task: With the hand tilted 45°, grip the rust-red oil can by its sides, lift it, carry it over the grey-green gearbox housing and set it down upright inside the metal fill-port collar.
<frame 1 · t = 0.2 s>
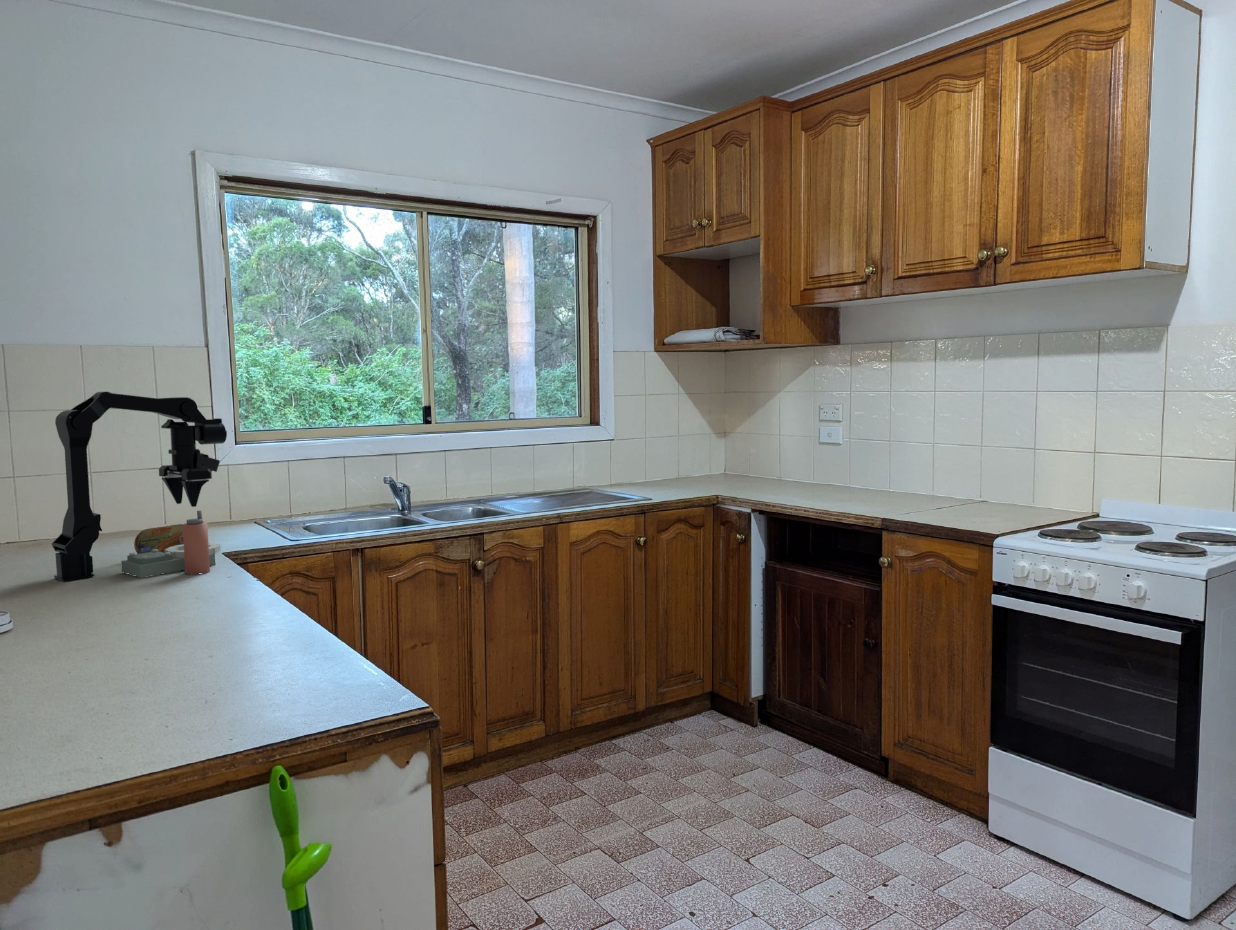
hand: (186, 505, 223), 14 cm above the counter, tool pointing down, fingers open, 9 cm apart
tin: (165, 557, 228), on the counter
oil can: (197, 572, 208), on the counter
gearbox: (169, 568, 212), on the counter
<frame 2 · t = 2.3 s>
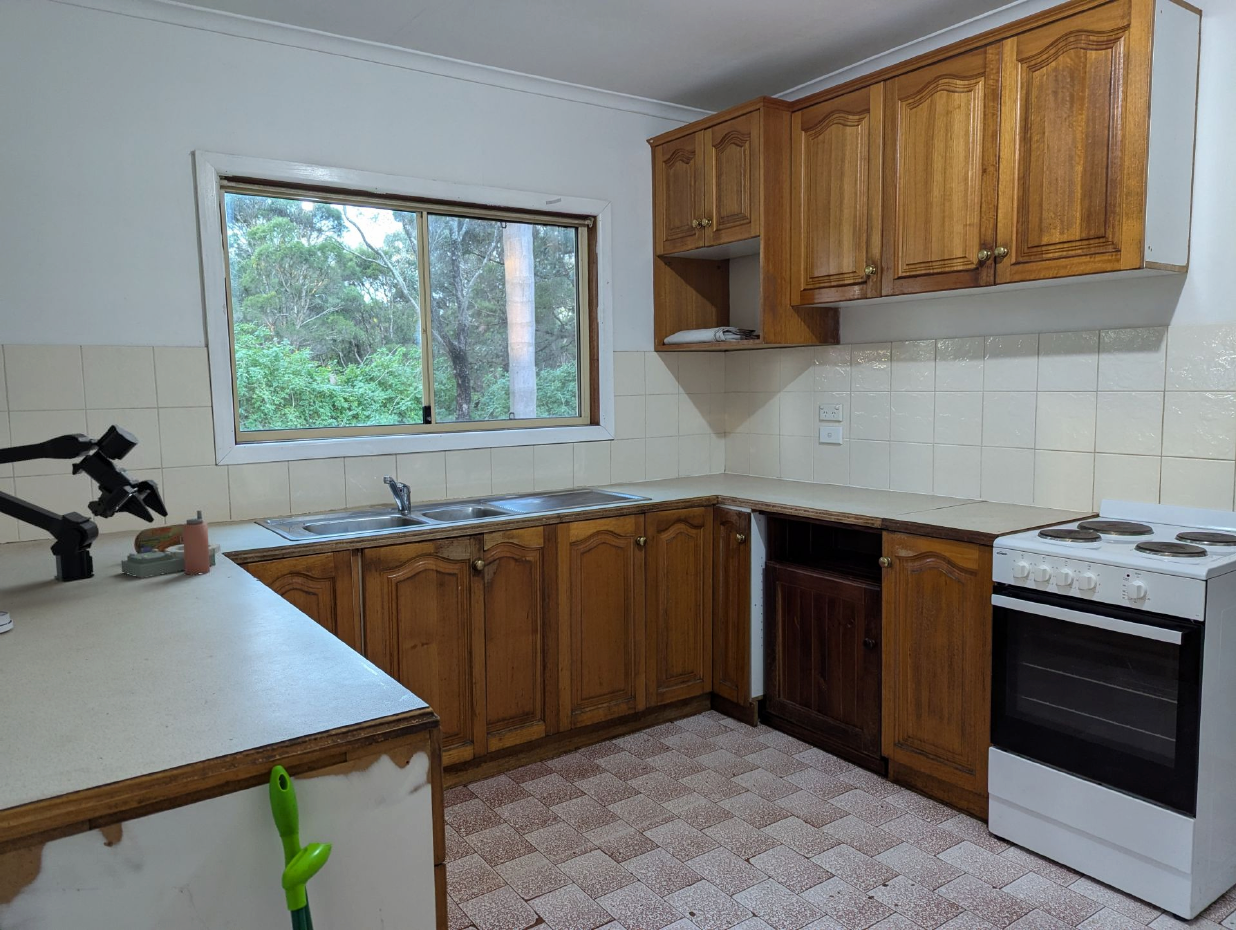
hand: (159, 518, 205), 13 cm above the counter, tool tilted 45°, fingers open, 9 cm apart
nothing on the counter moved.
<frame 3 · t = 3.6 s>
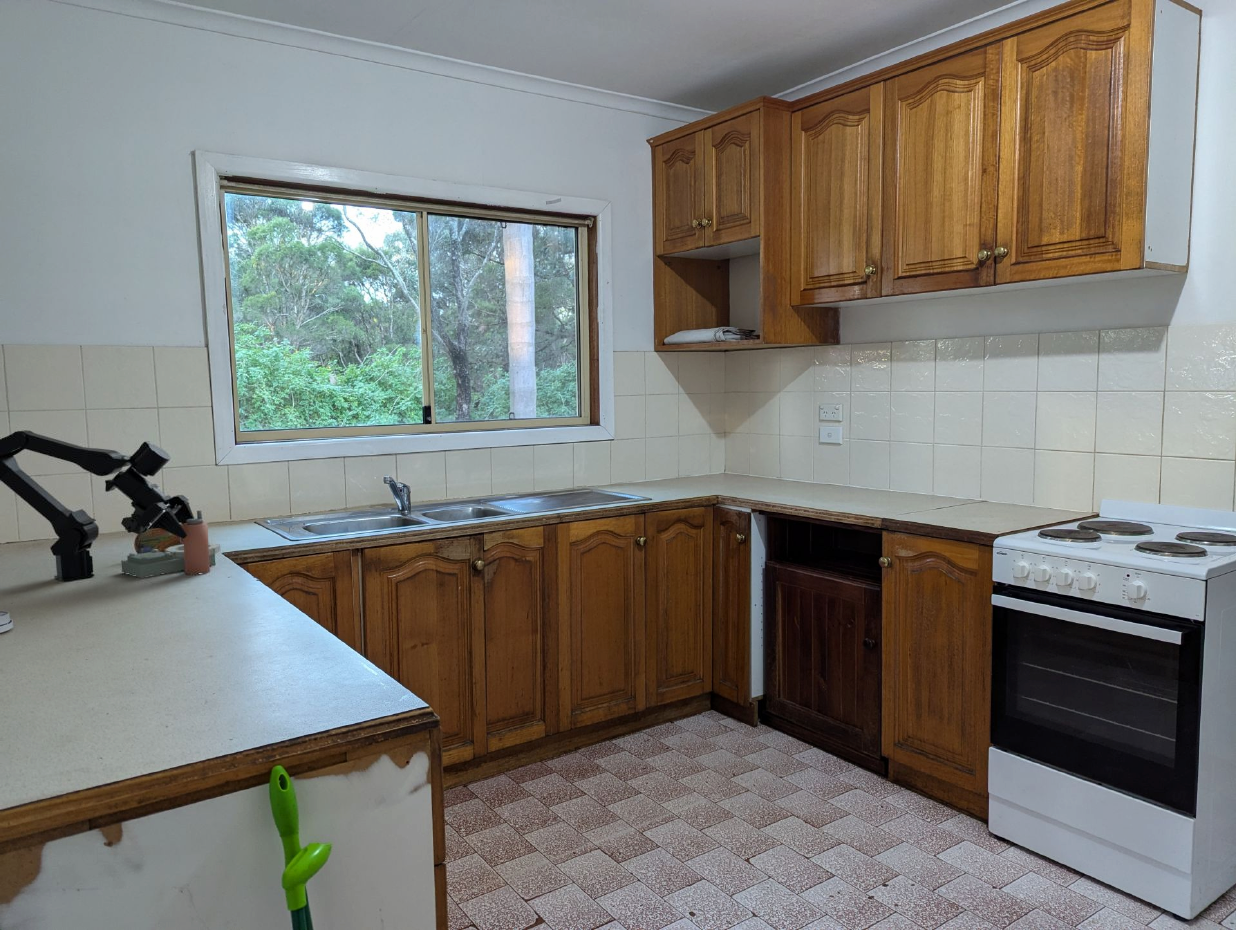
hand: (191, 534, 207), 9 cm above the counter, tool tilted 45°, fingers open, 9 cm apart
nothing on the counter moved.
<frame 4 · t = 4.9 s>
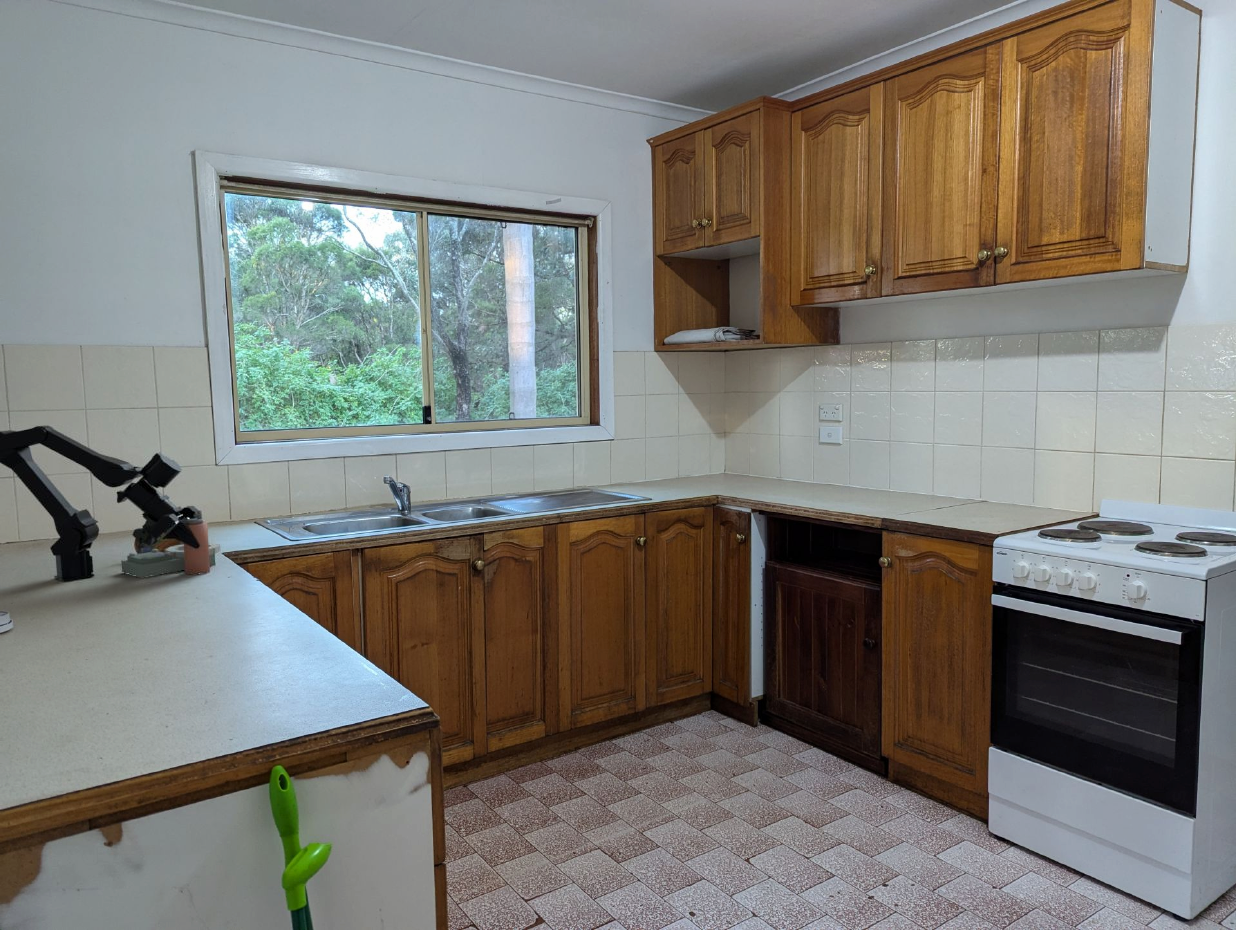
hand: (202, 545, 207), 7 cm above the counter, tool tilted 45°, fingers closed on oil can, 5 cm apart
oil can: (197, 572, 208), on the counter, touching gripper
everything else where it was.
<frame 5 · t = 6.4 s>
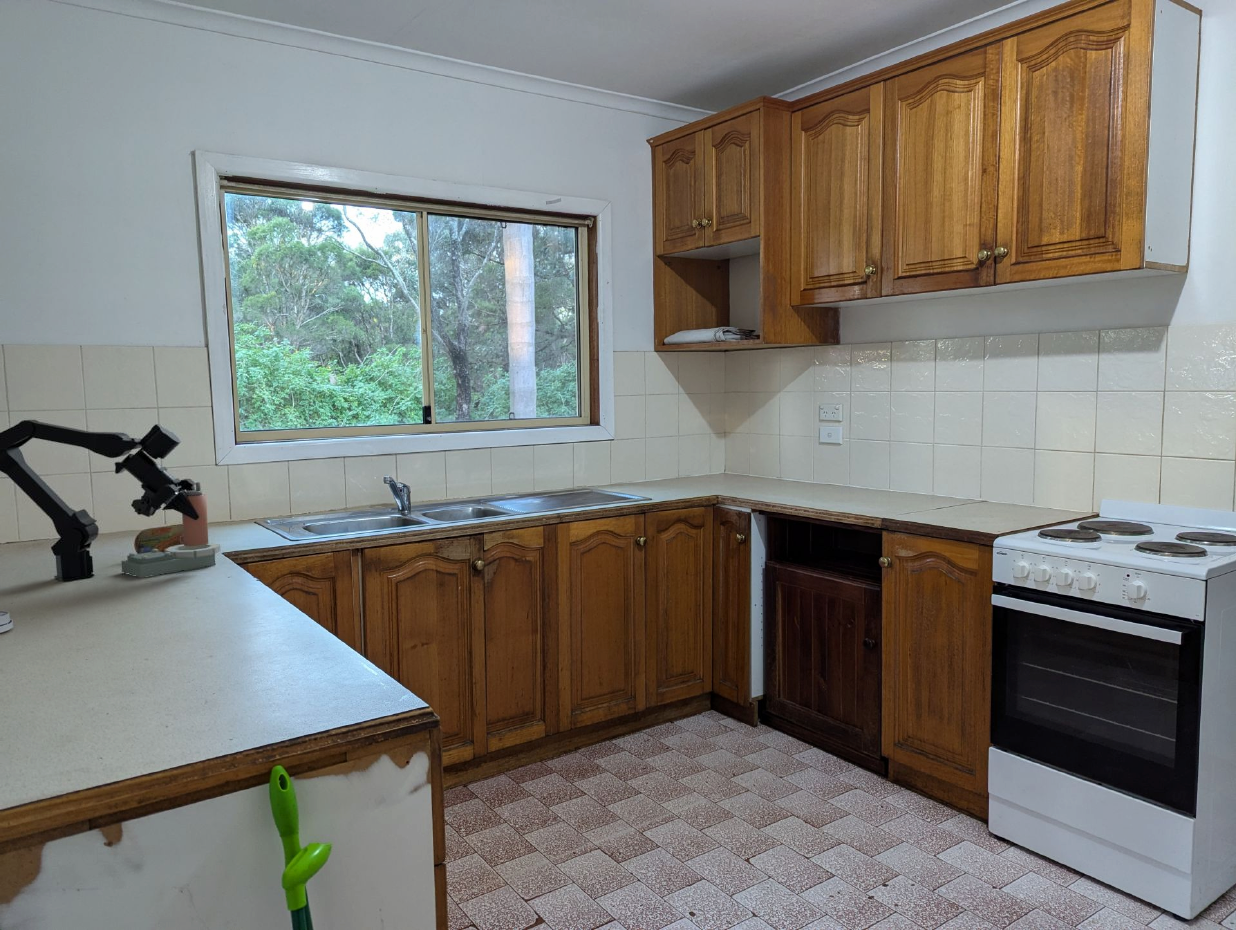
hand: (201, 517, 208), 13 cm above the counter, tool tilted 45°, fingers closed on oil can, 5 cm apart
oil can: (196, 544, 208), point 7 cm above the counter, touching gripper
everything else where it was.
when the fingers open (11 cm above the counter, at t = 8.1 s): oil can stays where it is, resting on gearbox.
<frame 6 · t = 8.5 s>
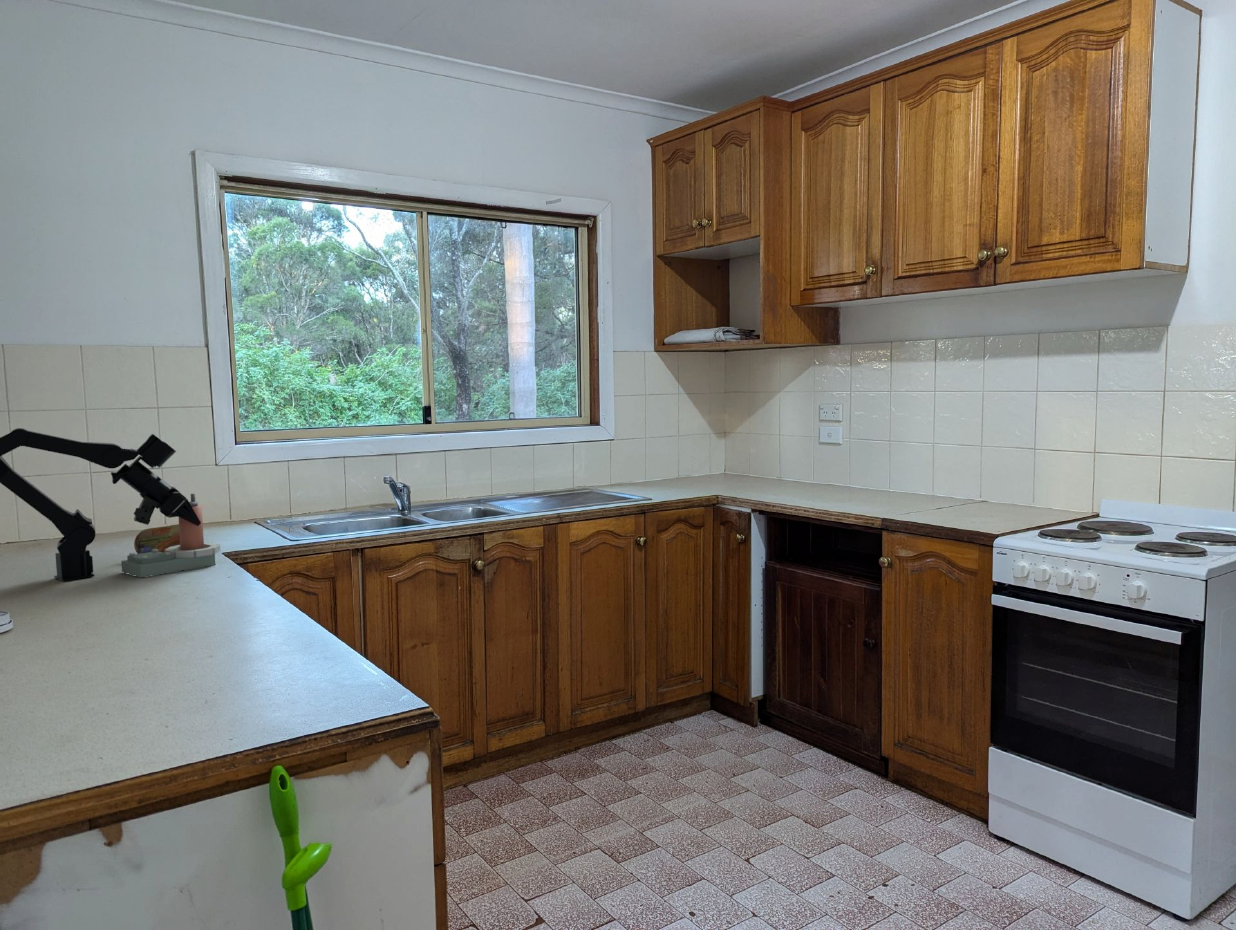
hand: (197, 522, 217), 11 cm above the counter, tool tilted 45°, fingers open, 9 cm apart
oil can: (192, 553, 216), point 3 cm above the counter, touching gearbox
everything else where it was.
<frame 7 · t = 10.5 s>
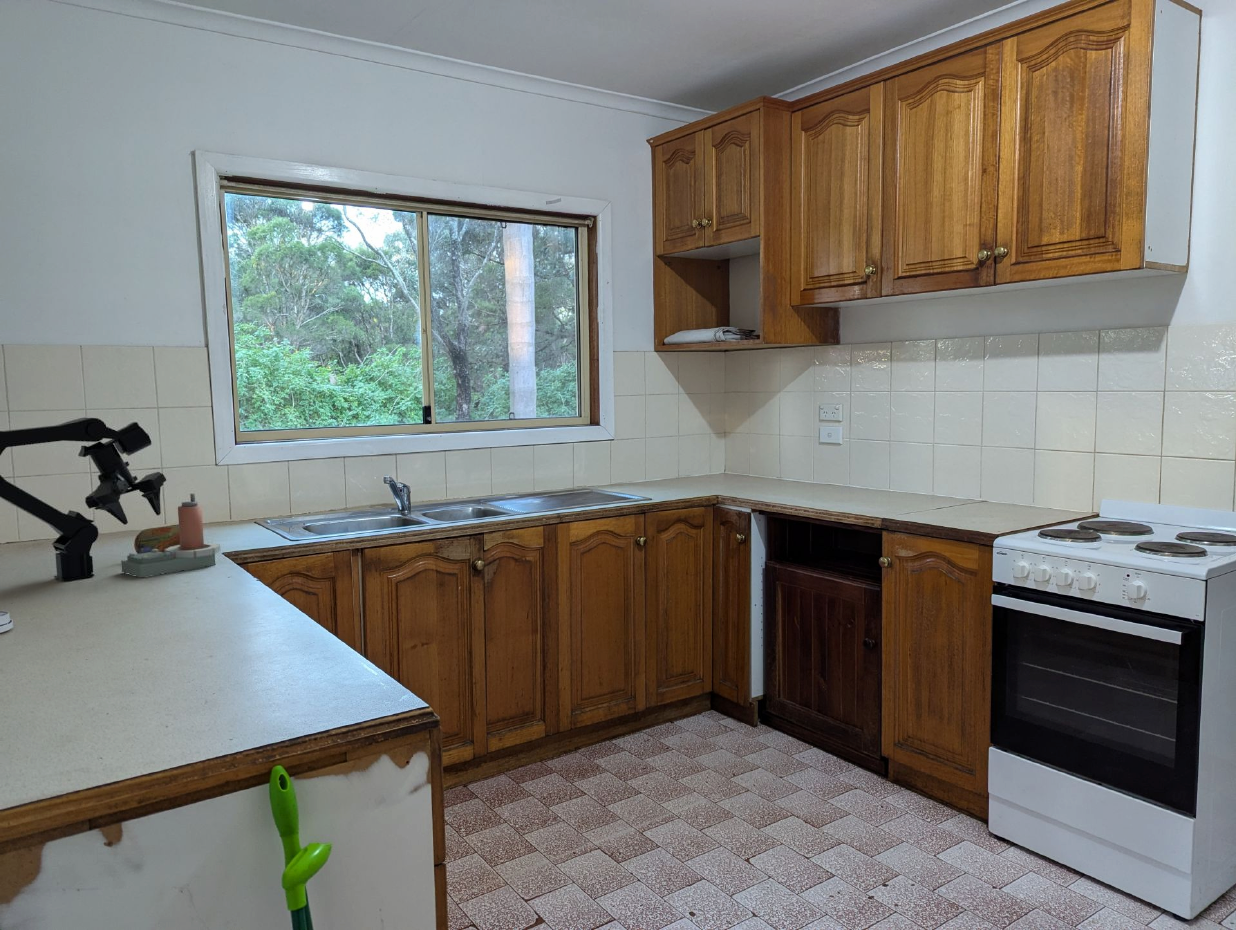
hand: (142, 519, 214), 12 cm above the counter, tool tilted 25°, fingers open, 9 cm apart
nothing on the counter moved.
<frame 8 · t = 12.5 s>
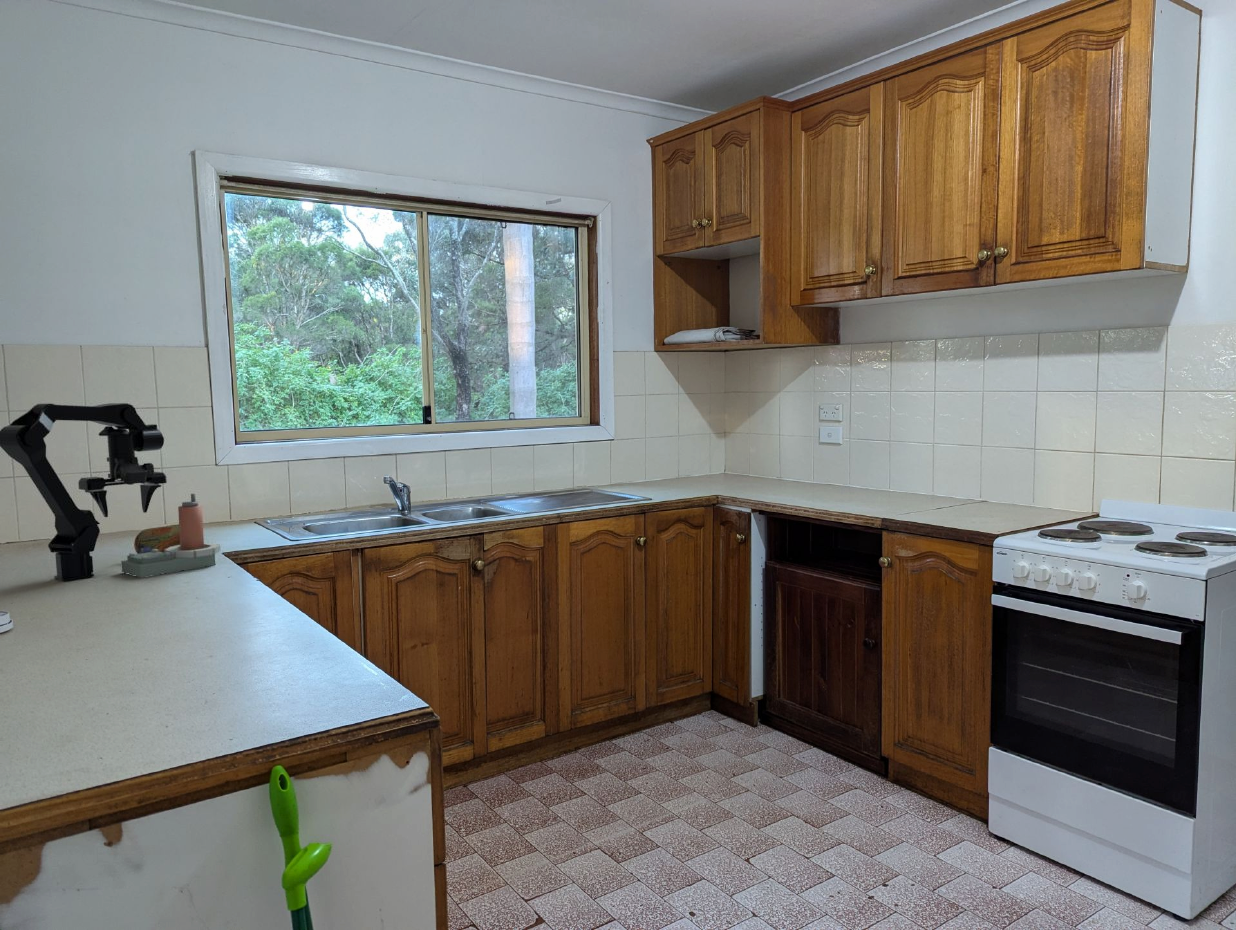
hand: (125, 514, 215), 13 cm above the counter, tool pointing down, fingers open, 9 cm apart
nothing on the counter moved.
at the end: oil can 0.2 cm from the target spot on the gearbox, point 3.0 cm above the gearbox's base; oil can tilted 0°; the gripper is holding nothing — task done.
